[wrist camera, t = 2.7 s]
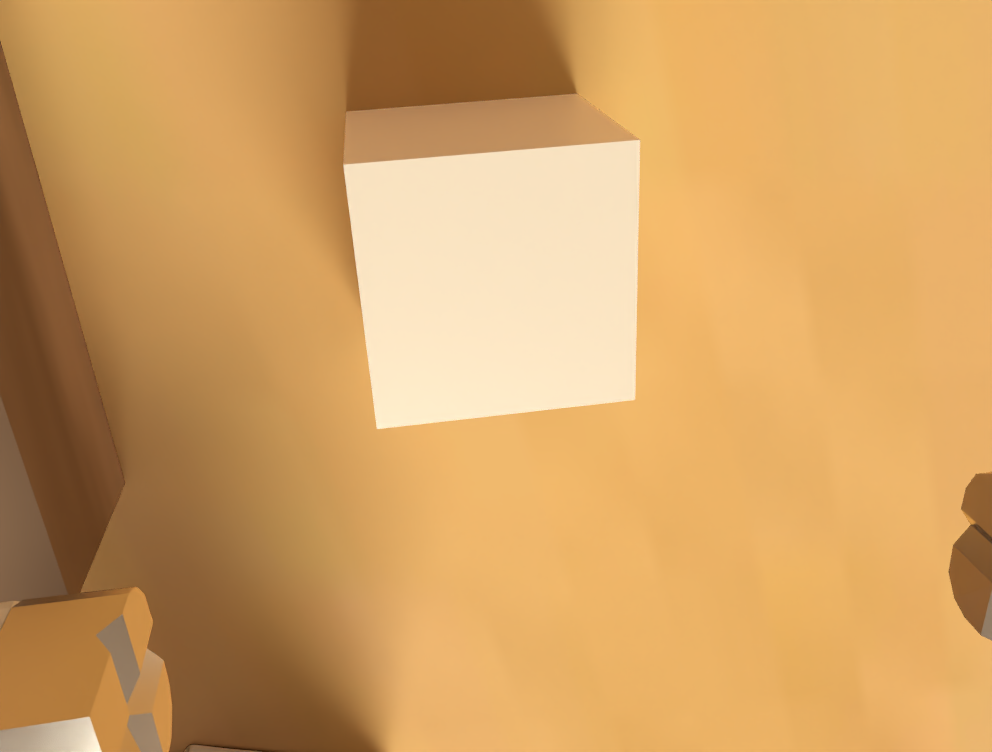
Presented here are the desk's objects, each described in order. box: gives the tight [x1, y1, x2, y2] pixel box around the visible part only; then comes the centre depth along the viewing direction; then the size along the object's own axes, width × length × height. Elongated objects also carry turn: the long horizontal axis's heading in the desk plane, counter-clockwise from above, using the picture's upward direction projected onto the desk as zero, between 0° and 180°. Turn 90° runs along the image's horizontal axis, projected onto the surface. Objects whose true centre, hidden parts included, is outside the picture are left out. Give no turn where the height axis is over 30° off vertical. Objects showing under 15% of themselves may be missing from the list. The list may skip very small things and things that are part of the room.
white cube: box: [343, 94, 640, 429], centre depth 18 cm, size 5×5×5 cm
